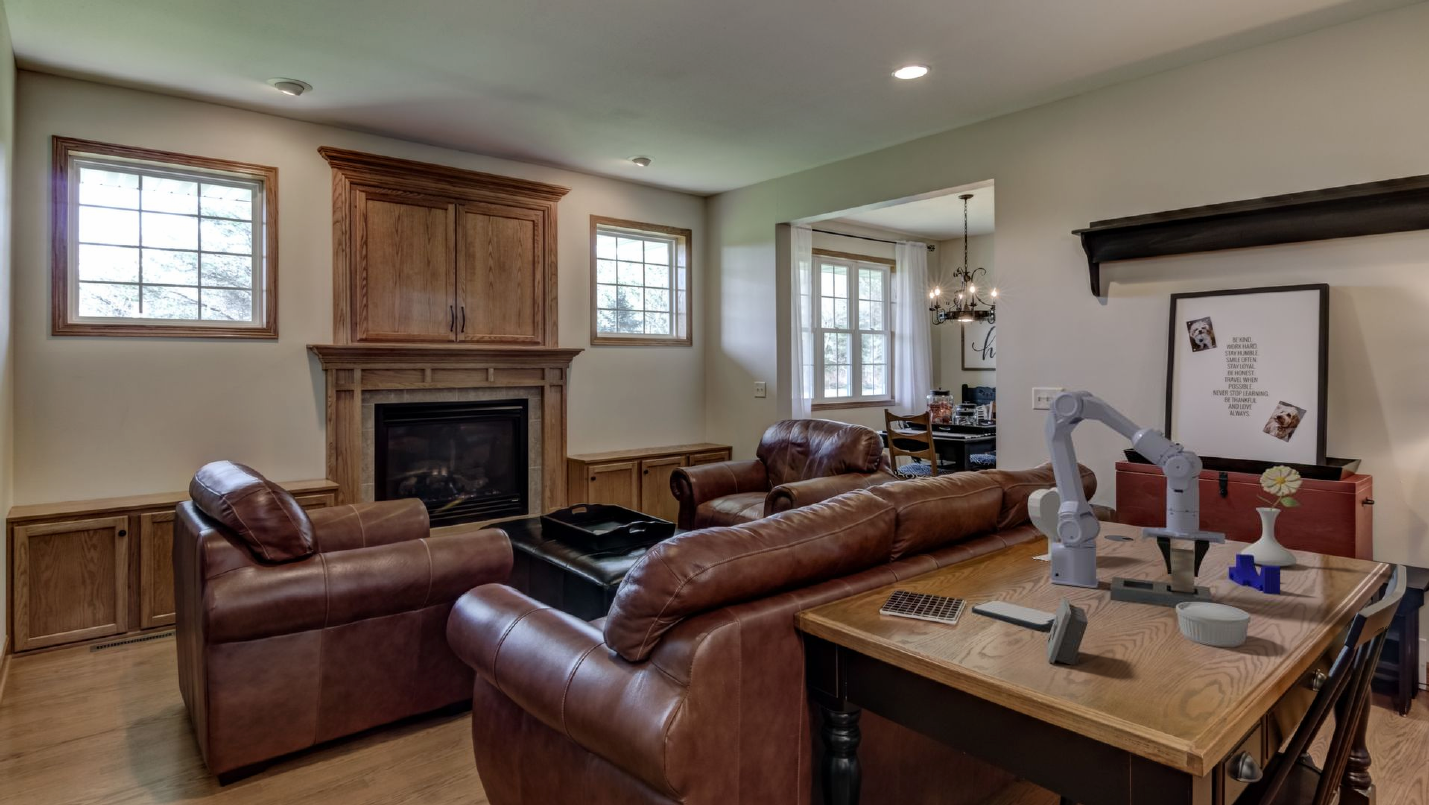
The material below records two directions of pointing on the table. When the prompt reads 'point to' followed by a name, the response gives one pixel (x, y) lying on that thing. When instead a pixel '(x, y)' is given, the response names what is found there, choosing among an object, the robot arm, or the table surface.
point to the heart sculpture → (1045, 515)
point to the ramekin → (1213, 623)
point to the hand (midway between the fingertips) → (1182, 574)
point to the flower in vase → (1267, 546)
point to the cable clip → (1255, 575)
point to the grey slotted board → (1155, 592)
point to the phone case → (1016, 615)
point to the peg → (1182, 570)
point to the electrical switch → (1066, 633)
